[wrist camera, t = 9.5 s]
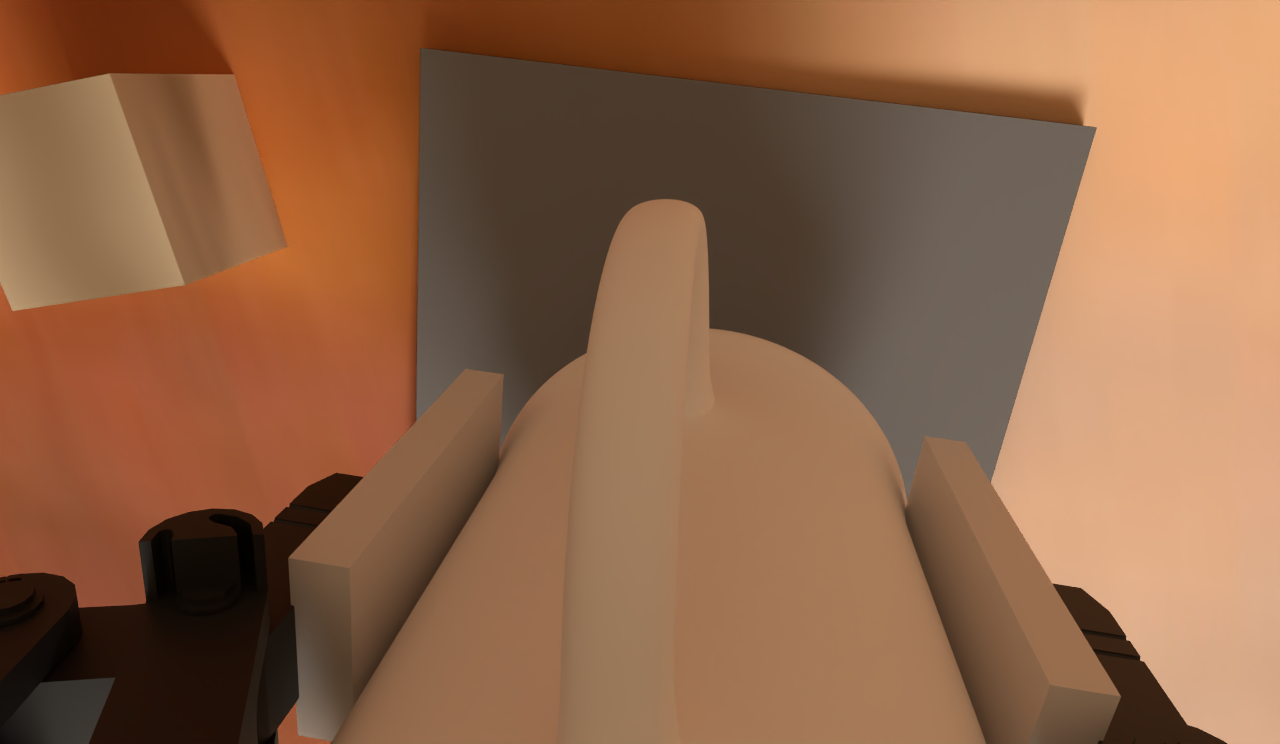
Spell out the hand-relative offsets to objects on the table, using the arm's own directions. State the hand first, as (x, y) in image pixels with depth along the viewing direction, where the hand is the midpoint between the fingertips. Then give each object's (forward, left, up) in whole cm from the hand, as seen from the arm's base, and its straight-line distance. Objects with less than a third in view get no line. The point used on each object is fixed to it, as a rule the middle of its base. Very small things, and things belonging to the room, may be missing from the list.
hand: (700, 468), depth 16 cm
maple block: (-13, +3, -4) cm, 14 cm away
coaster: (0, 0, -4) cm, 4 cm away
